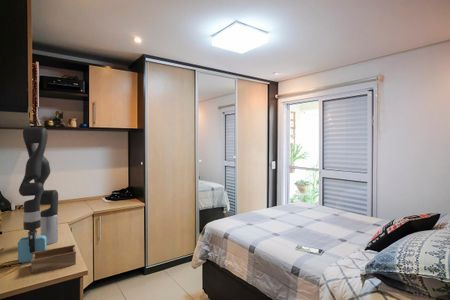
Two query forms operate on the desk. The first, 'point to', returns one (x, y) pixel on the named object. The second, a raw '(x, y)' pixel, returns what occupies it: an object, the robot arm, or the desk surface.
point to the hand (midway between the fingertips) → (32, 250)
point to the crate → (53, 258)
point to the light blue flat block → (24, 249)
